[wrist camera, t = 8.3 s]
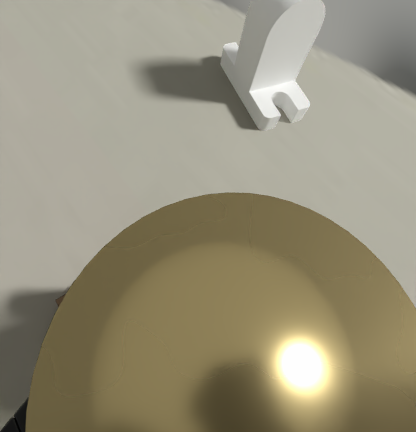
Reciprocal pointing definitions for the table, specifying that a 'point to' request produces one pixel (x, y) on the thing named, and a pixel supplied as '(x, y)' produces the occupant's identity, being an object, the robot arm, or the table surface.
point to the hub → (229, 328)
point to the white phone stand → (273, 58)
